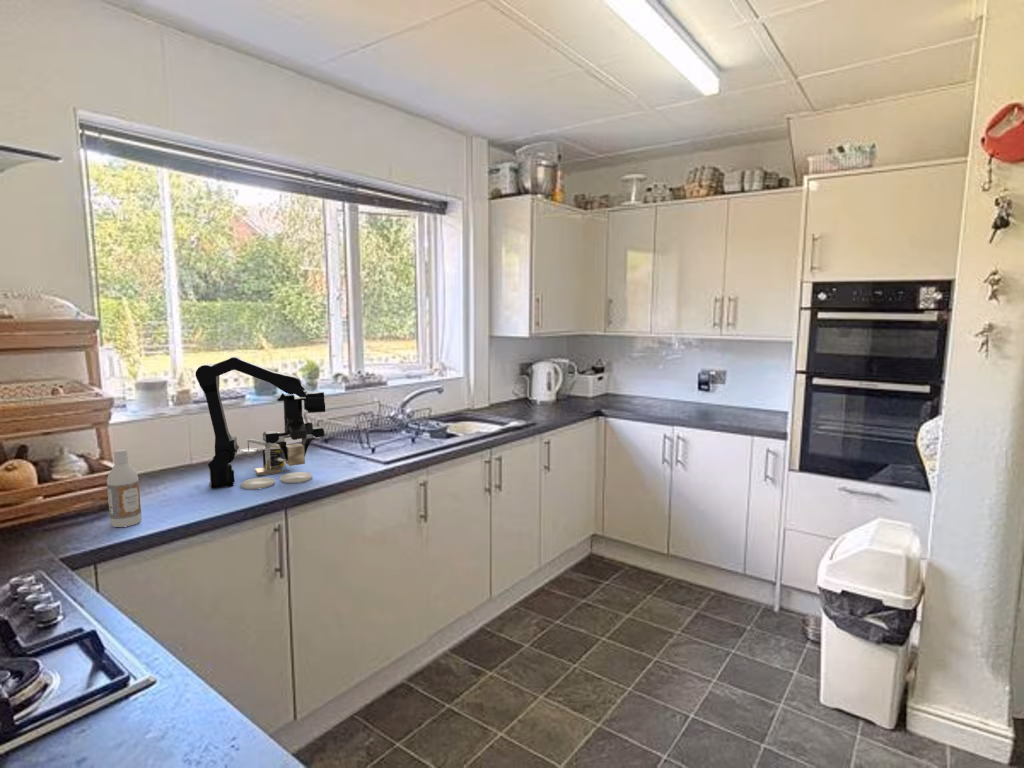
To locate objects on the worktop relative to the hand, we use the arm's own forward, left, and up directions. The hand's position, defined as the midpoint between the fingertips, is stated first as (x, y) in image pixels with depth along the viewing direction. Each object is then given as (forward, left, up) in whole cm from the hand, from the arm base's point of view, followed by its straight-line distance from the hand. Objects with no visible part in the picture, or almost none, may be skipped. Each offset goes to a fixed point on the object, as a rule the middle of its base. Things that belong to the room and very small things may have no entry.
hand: (295, 459), depth 196 cm
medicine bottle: (-2, +23, -7) cm, 24 cm away
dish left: (-12, 0, -7) cm, 14 cm away
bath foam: (-48, -18, -7) cm, 52 cm away
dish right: (0, 0, -7) cm, 7 cm away
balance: (-6, +14, -7) cm, 17 cm away
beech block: (0, 0, -1) cm, 1 cm away
